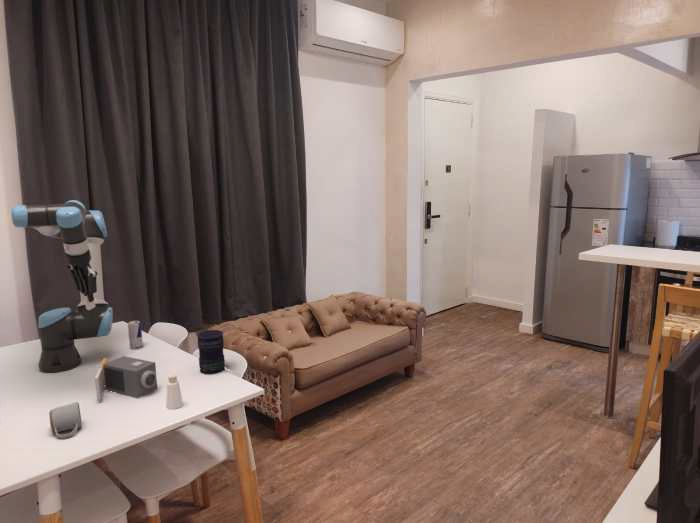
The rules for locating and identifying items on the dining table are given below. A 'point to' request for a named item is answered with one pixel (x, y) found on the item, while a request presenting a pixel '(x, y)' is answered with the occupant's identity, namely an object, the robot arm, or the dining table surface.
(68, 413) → the ceramic mug
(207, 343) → the storage jar
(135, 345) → the energy drink
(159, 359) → the dining table surface
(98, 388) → the side door
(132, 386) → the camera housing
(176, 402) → the pepper shaker
